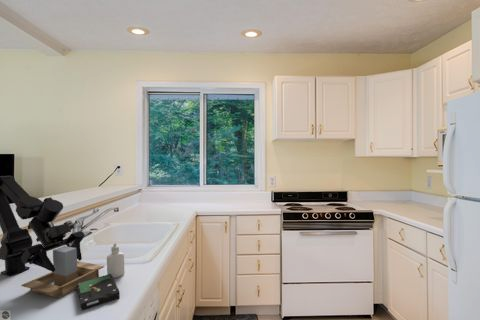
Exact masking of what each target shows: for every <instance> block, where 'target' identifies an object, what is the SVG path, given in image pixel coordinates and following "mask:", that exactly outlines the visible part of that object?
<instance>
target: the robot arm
mask: <svg viewBox="0 0 480 320" xmlns="http://www.w3.org/2000/svg"><path fill="white" fill-rule="evenodd" d="M7 197H8V198H9V199H10V200H11V202H13V203H14V205H15V206H16V207H15V212H16V214H17V216H18V217H19V218H20V219H21V220H22V221H23V220H28V219H29V220H30V221H29V222H28V225H27V228H21V227H20V225H19V223H18V220H17V218H16V216H15V214H14V212H13V209H12V207H11V205H10V202H9V200H8V198H7ZM63 209H64V205H63V203H62V202H61V201H59V200H56V199H53V198H52V197H51V196H50V197H46V198H44V199H43V200H41V199H39V198H38V197H35V196H31V195H29V193H28V192H27V191H26V190H25V189H24V188H23V187H22V186H21V185H20V184H19V183H18V182H17V180H16V179H15V177H14V176H13V175H1V176H0V229H1V231H2V237H1V240H0V260H1V261H4V269H5V270H2V271H0V274H2V275H5V276H9V277H10V276H12V277H13V276H14V275H17V274H20V273H22V272H24V271H27V270H29V269H30V268H31V267H30V266H26V265H27V264H29V265H35V266H38V267H40V268H43V269H46V270H48V271H50V272H54V271H55V267H54V266H53V262H52V261H51V259H50V258H49V257H48V254H47V252H49V251H51V250H52V251H53V250H55V249H58V248H61V247H63V246H67V247H73V248H76V249H77V261H80V262H81V261H82V259H83V257H82V253H81V252H82V251H81V242H82V241H83V239H84V238H85V237H86V234H85V233H84V232H83V231H82V230H78V231H75V232H72V230H73V229H75V224H74V222H73V221H72V220H71V219H70V220H66V221H65V222H64V223H63V224H59V225H54V223H53V221H55V220H56V219H57V218H58V217H59V214H60V213H61V212H62V210H63ZM29 230H32V231H33V232H34V234H35V236H36V239H35V240H36V242H38V244H34V245H33V242H34V241H33V238H32V236H31V235H30V232H29ZM69 233H70V234H69ZM67 234H69V236H68V237H67V238H66V236H67ZM64 238H65V239H64Z"/></svg>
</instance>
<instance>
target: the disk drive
mask: <svg viewBox="0 0 480 320" xmlns="http://www.w3.org/2000/svg"><path fill="white" fill-rule="evenodd" d="M114 279H115V278H113V277H112V275H111V274H109V275H107V274H105V275H101V276H99V277H97V278H94V279H92V280H88V281H84V282H79V284H78V285H77V289H76V290H77V294H78V298H79V304H80V306H79V307H80V310H81V311H85V310H89V309H91V308H94V307H98V306H101V305H103V304H108V303H111V302H112V301H116V300H120V298H121V297H120V296H121V293H120V290H119V288H118V286H117V283H116V282H115V280H114Z"/></svg>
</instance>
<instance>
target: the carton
mask: <svg viewBox="0 0 480 320" xmlns="http://www.w3.org/2000/svg"><path fill="white" fill-rule="evenodd" d="M103 268H105V266H104V265H100V264H97V263H95V264H94V263H91V262H90V263H89V262H84V261H81V260H80V261H79V260H77V274H78V276H79V277H78V278H76V279H74V280H72V281H70V282H68V283H66V284H64V285H62V286H57V285H54V284H51V283H52V282H54V272H52V271H50V272H48V273H45V274H44V275H41V276H39V277H37V278H35V279H32V280H30V281H27V282H25V283H23V284H21V285H20V287H23V288H28V289H30V291H32V292H36V293H38V294H39V293H40V294H44V295H47V296H50V297H54V298H58V299H61V298H63V297H64V296H66V295H68V294H70V293H72V292H74V291H75V290H78V289H77V285H78V284H79V282H84V281H88V280H92V279H94V278H97V277H100V274H99V273H100V270H101V269H103Z"/></svg>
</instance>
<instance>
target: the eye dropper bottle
mask: <svg viewBox="0 0 480 320" xmlns="http://www.w3.org/2000/svg"><path fill="white" fill-rule="evenodd" d="M110 251H111V253H109V254H108V255H107V256H106V273H107V274H106V275H109V274H111V275H112V277H113V279H115V278H119V277H122V276H124V275H125V273H126V272H125V270H126V269H125V255H124V254H125V253H123V252H121V251H120V246H119V245H117V243H116V242H113V245H112V246H111V250H110Z"/></svg>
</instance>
